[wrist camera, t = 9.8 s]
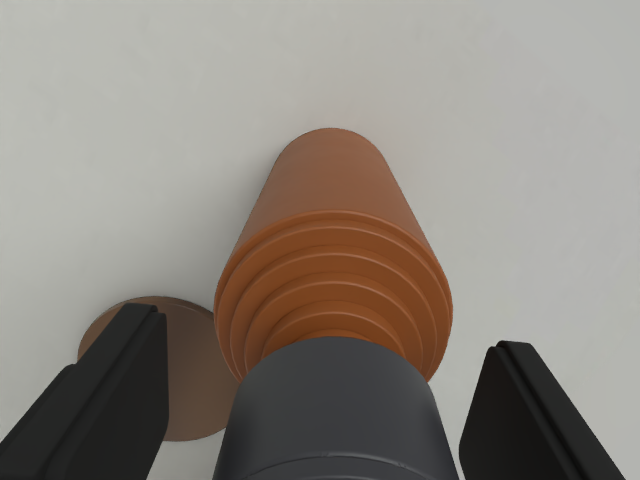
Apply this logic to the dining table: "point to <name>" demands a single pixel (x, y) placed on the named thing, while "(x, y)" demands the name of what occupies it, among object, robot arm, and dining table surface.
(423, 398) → the cap
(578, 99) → the dining table surface
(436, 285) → the sauce bottle
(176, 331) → the coaster
